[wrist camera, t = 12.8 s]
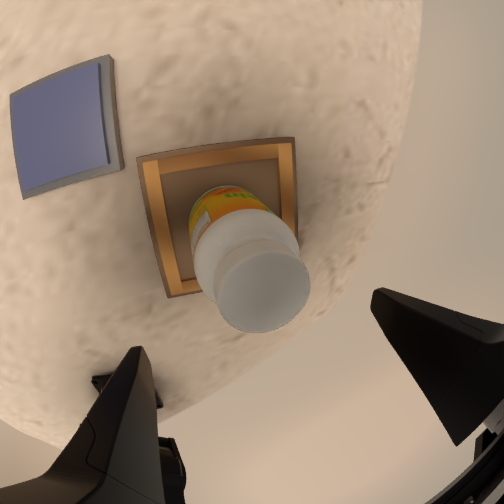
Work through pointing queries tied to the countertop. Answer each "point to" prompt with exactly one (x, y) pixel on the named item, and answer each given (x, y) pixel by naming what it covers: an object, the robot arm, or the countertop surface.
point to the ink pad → (66, 127)
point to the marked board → (202, 180)
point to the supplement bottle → (247, 260)
